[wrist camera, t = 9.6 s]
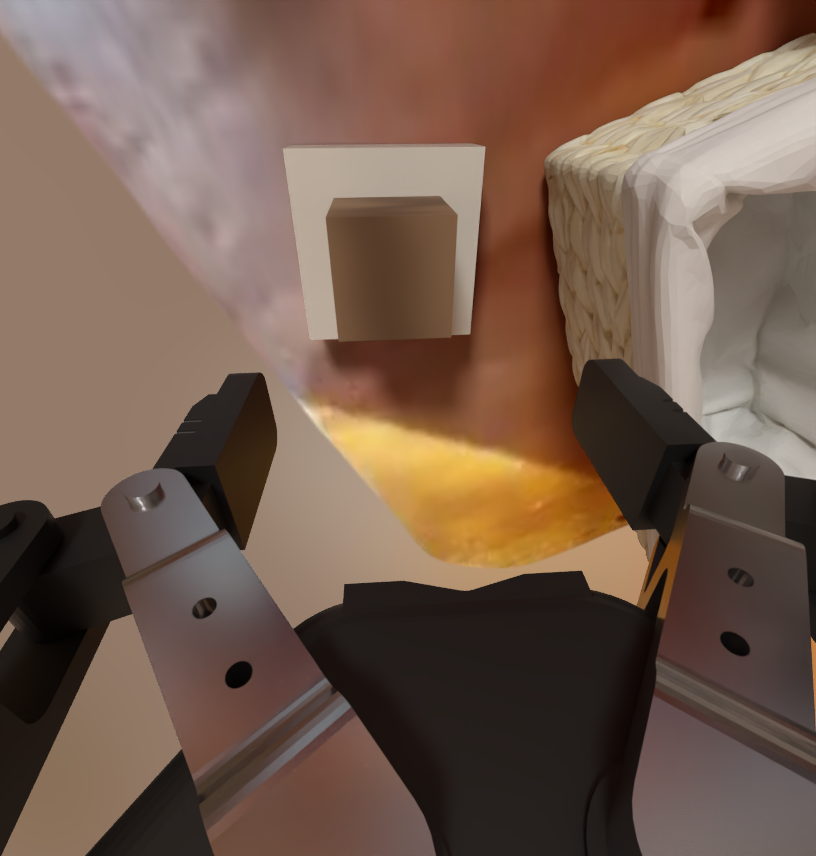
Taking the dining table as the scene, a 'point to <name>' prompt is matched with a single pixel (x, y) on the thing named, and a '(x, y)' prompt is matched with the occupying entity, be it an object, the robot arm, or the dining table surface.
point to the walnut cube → (392, 267)
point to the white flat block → (380, 177)
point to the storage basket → (703, 252)
